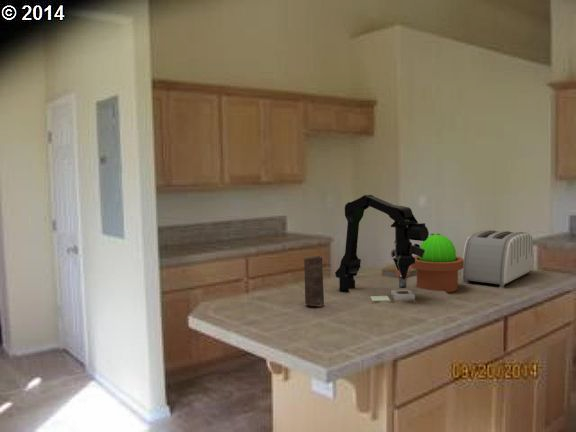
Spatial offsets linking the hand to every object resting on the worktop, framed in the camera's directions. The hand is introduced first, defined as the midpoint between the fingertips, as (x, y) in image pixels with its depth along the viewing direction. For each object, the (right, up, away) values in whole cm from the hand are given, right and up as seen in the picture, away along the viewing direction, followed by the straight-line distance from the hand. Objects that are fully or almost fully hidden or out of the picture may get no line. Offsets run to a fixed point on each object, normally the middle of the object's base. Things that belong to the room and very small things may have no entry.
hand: (402, 277), depth 214 cm
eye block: (0, -9, +1) cm, 8 cm away
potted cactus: (+20, -8, +23) cm, 32 cm away
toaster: (+56, -5, +44) cm, 71 cm away
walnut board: (-4, -10, +1) cm, 11 cm away
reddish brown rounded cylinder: (0, -4, 0) cm, 4 cm away
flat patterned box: (+18, -5, +62) cm, 64 cm away
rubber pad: (-9, -9, +1) cm, 12 cm away
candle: (-35, -11, -2) cm, 37 cm away
